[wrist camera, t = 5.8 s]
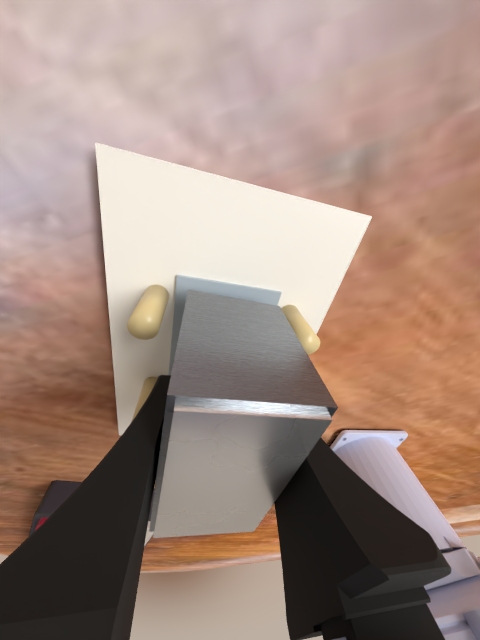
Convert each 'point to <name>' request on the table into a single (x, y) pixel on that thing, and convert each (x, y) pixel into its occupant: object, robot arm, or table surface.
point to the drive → (234, 417)
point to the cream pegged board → (207, 258)
